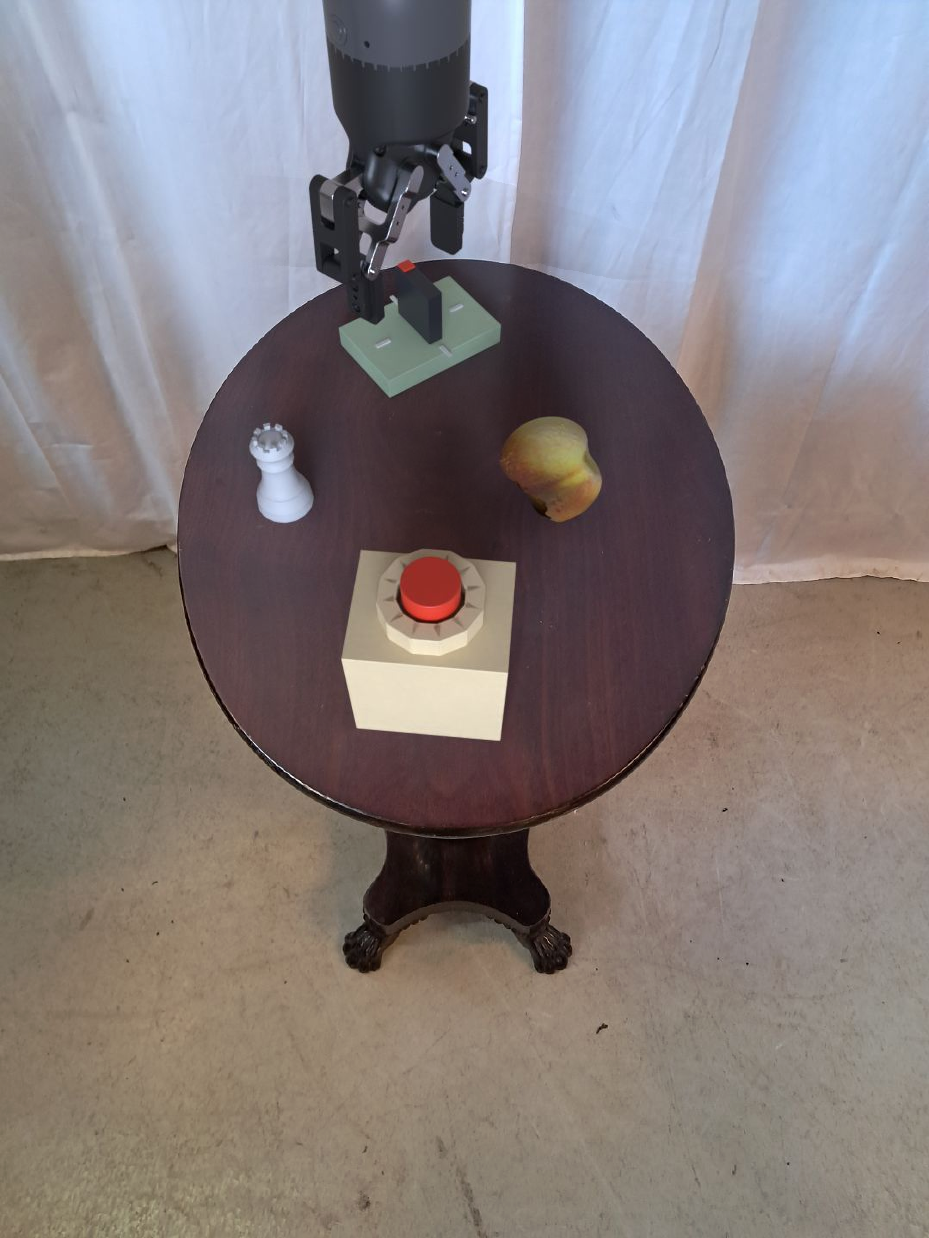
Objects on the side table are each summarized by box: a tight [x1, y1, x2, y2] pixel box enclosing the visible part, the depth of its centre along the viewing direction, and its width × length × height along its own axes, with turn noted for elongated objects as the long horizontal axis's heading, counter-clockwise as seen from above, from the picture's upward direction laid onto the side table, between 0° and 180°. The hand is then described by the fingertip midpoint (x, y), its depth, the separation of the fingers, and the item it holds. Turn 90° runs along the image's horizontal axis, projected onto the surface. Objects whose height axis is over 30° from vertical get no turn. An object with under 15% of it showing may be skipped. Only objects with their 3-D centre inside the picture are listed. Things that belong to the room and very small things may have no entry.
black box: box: [394, 259, 442, 344], centre depth 78 cm, size 5×1×5 cm, turn 36°
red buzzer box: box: [340, 548, 517, 742], centre depth 60 cm, size 10×8×12 cm
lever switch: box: [338, 275, 502, 398], centre depth 81 cm, size 12×9×2 cm
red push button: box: [400, 557, 461, 622], centre depth 54 cm, size 4×4×2 cm
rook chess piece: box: [248, 422, 315, 524], centre depth 70 cm, size 4×4×8 cm
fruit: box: [498, 416, 603, 523], centre depth 70 cm, size 8×8×8 cm
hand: (408, 281), depth 61 cm, fingers open, 8 cm apart
